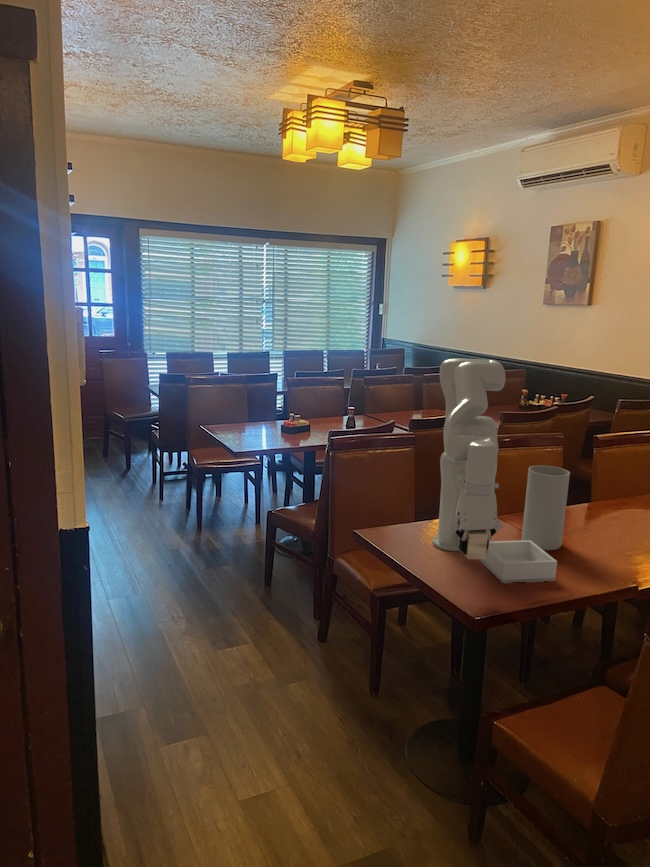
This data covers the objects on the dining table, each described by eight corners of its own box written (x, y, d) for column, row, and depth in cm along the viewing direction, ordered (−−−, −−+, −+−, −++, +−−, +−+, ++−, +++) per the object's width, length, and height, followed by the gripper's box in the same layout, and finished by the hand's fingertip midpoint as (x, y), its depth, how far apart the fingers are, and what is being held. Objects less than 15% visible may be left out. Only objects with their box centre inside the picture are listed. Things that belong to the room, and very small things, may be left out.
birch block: (460, 551, 171) (462, 527, 169) (478, 550, 172) (480, 526, 170) (467, 559, 166) (469, 534, 164) (485, 558, 167) (487, 534, 165)
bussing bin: (479, 560, 191) (481, 541, 190) (528, 558, 194) (530, 540, 193) (502, 583, 176) (504, 563, 175) (555, 581, 178) (557, 561, 177)
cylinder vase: (514, 543, 206) (521, 469, 201) (532, 534, 215) (539, 463, 209) (550, 554, 197) (559, 478, 192) (567, 544, 206) (576, 471, 201)
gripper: (503, 482, 169) (497, 545, 173) (443, 484, 166) (438, 547, 171) (516, 491, 162) (509, 556, 166) (453, 493, 159) (447, 559, 164)
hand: (473, 551), depth 168 cm, fingers closed on birch block, 5 cm apart
